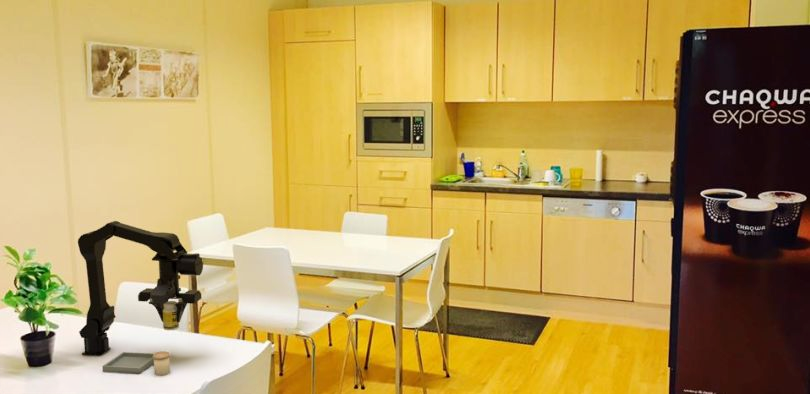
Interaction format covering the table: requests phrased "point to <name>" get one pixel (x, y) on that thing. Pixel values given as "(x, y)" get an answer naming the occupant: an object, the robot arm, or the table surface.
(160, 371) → the sugar jar
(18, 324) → the table surface
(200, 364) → the table surface
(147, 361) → the tray
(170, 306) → the supplement bottle
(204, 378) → the table surface
